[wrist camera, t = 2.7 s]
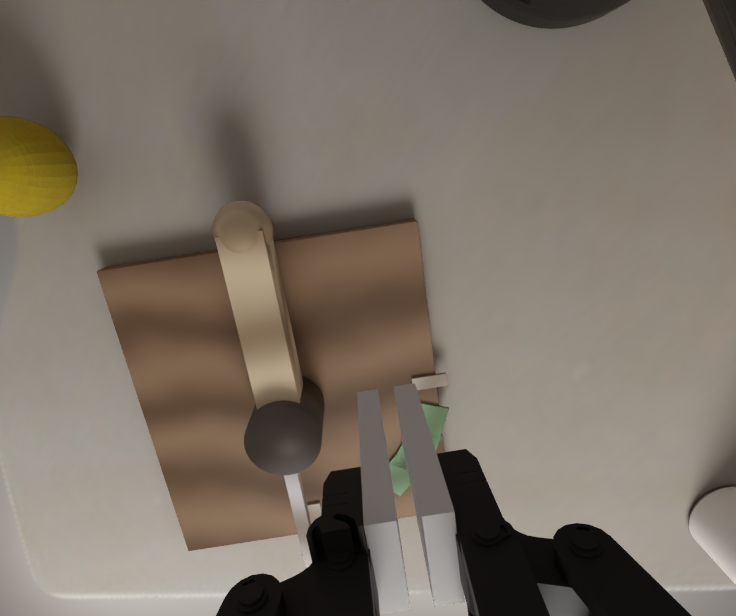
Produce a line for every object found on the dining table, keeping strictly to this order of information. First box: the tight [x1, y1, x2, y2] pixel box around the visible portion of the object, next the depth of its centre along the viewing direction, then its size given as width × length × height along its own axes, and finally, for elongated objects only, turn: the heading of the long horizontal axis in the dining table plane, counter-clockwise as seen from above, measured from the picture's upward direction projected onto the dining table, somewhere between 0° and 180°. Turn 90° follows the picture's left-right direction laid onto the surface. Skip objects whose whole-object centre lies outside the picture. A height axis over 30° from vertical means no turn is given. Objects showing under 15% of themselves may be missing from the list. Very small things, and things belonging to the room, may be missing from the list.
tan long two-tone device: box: [212, 200, 325, 568], centre depth 33 cm, size 27×5×5 cm, turn 8°
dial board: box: [97, 219, 449, 551], centre depth 37 cm, size 24×23×1 cm
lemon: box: [0, 116, 78, 217], centre depth 28 cm, size 6×6×8 cm
